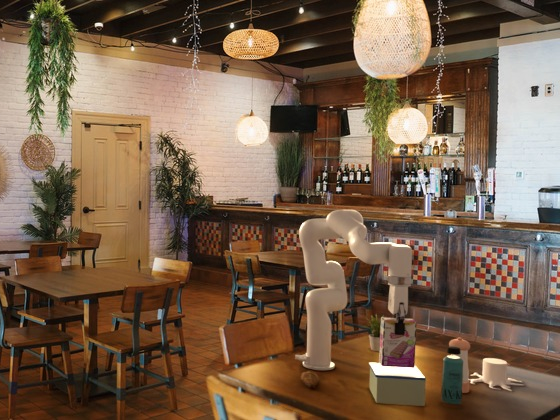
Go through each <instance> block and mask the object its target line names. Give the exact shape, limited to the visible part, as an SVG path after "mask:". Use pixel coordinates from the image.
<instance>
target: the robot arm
mask: <svg viewBox="0 0 560 420" xmlns="http://www.w3.org/2000/svg"><path fill="white" fill-rule="evenodd" d="M367 235H368V228H367V227H366V225H365V224H364V218H363V215H362V214H361V213H360V212H359V211H357V210H355V209H336V210H333V211H331V212H329V213H328V215H327V216H326V218H320V217H319V218H311V219H307V220H305V221H304V222H302V224H301V225H300V228H299V231H298V236H299V237H298V238H299V242H300V246H301V249H302V253H303V261H304V270H305V277H306V281H307V282H308V284H309V285H312V286H327V287H322V288H313V289H310V291H308V292H307V294H306V296H305V300H304V301H305V308H306V316H307V317H306V318H307V320H306V321H307V326H306V327H307V329H306V330H307V331H306V352H305V354H302V355H300V354H295V355H294V359H295V360H296V361H297V360H298V361H299V362H302V366H303V367H304V368H307V369H308V370H315V371H331V370H333V369H335V366H336V365H335V363H334V362H332V329H333V328H332V327H333V325H332V321H331V319H330V316H329V312H332V313H333V312H339V311H342V310H345V308H346V307H347V305H348V292H347V284H346V277H345V271H344V269H343V267H342V265H341V264H340V263H338V262H337V261H333V260H328V261H327V259H326V252H325V249H324V246H323V245H322V244H321V243H320V241H319V240H336V239H337V240H338V239H341V238H342V239H344V240H345V241H346V242H348V247H349V249H350V252H351V253H352V254H353V255H354V256H355V257H356V258H357V259H359V260H360V261H361V262H363V263H365V264H367V265H386V264H387V265H388V271H387V285H388V286H389V290H388V291H389V292H388V303H387V310H388V311H389V312H390V313H391V318H396V323H395V335H404V334H405V319H406V318H405V317H406V316H407V314H408V309H409V287H412V266H413V265H412V264H413V263H412V262H413V249H412V247H411V246H409V245H405V244H397V243H394V242H369V241H368V240H367V239H366V237H367Z"/></svg>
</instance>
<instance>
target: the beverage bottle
mask: <svg viewBox="0 0 560 420" xmlns="http://www.w3.org/2000/svg"><path fill="white" fill-rule="evenodd" d="M446 353H447V354H448V355H446V356H445V357H443V359H442V360H443V362H442V378H441V392H440V393H441V395H440V396H441V397H440V398H441V401H442V402H444V403H446V404H450V405H459V404H462V401H463V394H464V393H463V391H462V385H463V384H462V382H463V360H462V359H461V358H460V357H458V356H451V354H454V355H459V354H461V352H460V348H459V347H456V346H447V350H446Z"/></svg>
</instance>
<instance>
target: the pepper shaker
mask: <svg viewBox="0 0 560 420" xmlns="http://www.w3.org/2000/svg"><path fill="white" fill-rule="evenodd" d="M448 345H449V346H456V347H459V348H460V352H461V354H459V355H454V354H450V355H451V356H458V357H460V358H461V359H462V360H463V382H462V384H463V385H462V391H463V393H462V394H467V393H469V392H470V386H471V385H470V384H471V383H470V382H471V381H469V380H468V379H470V378H469V377H470V369H469V363H468V362H469V361H468V359H469V356H468V355H469V350H470V349H471V343H470V342H469V341H467V340H466V339H463V338H462V337H461V336H459V337H457V338H454V339H453V338H452V339H451V340H450V341H449V342H448Z"/></svg>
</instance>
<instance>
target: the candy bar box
mask: <svg viewBox="0 0 560 420" xmlns="http://www.w3.org/2000/svg"><path fill="white" fill-rule="evenodd" d="M384 317H385V316H384ZM384 317H382V316H381V317H380V319H381V329H380V351H378V352H379V354H378V355H379V357H378V363H380V364H381V366H388V367H409V368H414V365H416V364H415V363H416V343H417V342H416V341H417V321H416V320H415V319H414V318H405V334H404V335H395V323H396V318H392V317H386V318H384Z"/></svg>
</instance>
